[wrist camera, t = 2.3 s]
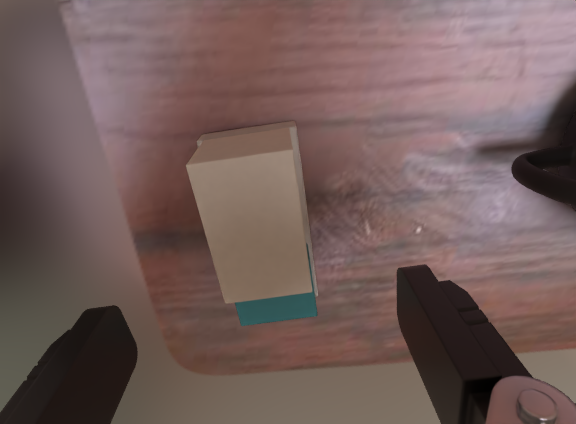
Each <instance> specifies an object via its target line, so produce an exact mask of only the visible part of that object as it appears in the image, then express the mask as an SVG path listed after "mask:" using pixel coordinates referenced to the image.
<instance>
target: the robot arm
mask: <svg viewBox="0 0 576 424" xmlns="http://www.w3.org/2000/svg"><path fill="white" fill-rule="evenodd" d="M397 316H398V321H399V325H400V329H401V332H402V334H403V337H404V339H405V341H406V343H407V346H408V348H409V350H410V353H411V355H412V357H413V360H414V362H415V364H416V367H417V369H418V371H419V373H420V376H421V378H422V380H423V383H424V385H425V387H426V390H427V392H428V394H429V397H430V399H431V401H432V404H433V406H434V408H435V411H436V413H437V415H438V418H439V420H440V422H441V424H576V404H575V403H574V402H573V401H572V400H571V399H570V398H569V397H568V396H566V395H565V394H564V393H563V392H561V391H560V390H558V389H557V388H555V387H553V386H552V385H550V384H548V383H546V382H544V381H541V380H538V379H535V378H533V377H532V376H531V374H530V373H529V372H528V371H527V370H526V368H525V367H524V366H523V364H522V363H521V362H520V360H519V359H518V358H517V356H515V354H514V352H513V351H512V350H511V349H510V347H509V346H508V345H507V343H506V342H505V341H504V339H503V338H502V337H501V335H500V334H499V333H498V332H497V330H496V329H495V328H494V326H493V325H492V324H491V322H490V323H489V322H488V318H487V317H486V316H485V315H484V313H483V312H482V311H481V310H479V308H478V305H477V304H476V303H475V301H474V300H473V299H472V298H471V296H470V295H469V294H468V292H467V291H465V290H464V289H462V288H461V287H459V286H458V285H456V284H455V283H453V282H452V281H450V280H448V281H440V282H438V280H437V279H436V277H435V276H434V274H433V273H432V271H431V270H430V268H429V267H428V266H427V265H426V264H424V265H417V266H409V267H402V268H398V270H397ZM136 362H137V346H136V342H135V340H134V338H133V336H132V334H131V332H130V329H129V327H128V325H127V323H126V321H125V319H124V317H123V315H122V312H121V310H120V309H119V307H117V306H114V305H113V306H106V307H98V308H91V309H87V310H85V311H84V312H83V313H82V315H81V316H80V318H79V319H78V320H77V322H76V323H75V325H74V326H73V327H72V329H71V330H68V331H67V332H66V333H64V334H63V335H62V336H61V337H60V338H58V339H57V340H56V341H55V342H54V343H53V344H51V346H50V347H49V348H48V349H47V351H46V352H45V353H44V355H43V356H42V358H41V359H40V360H39V361H38V365H37V366H35V367H34V368H33V369H32V371H31V372H30V374H29V375H28V376H27V380H26V381H24V382H23V383H22V384H21V386H20V387H19V388H18V390H17V391H16V392H15V394H14V395H13V396H12V398H11V399H10V400H9V402H8V403H7V404H6V406H5V407H4V408H3V410H2V411H1V412H0V424H110V423H111V421H112V418H113V416H114V414H115V412H116V409H117V407H118V404H119V402H120V400H121V398H122V396H123V393H124V391H125V389H126V386H127V384H128V382H129V380H130V377H131V375H132V372H133V370H134V368H135V365H136Z"/></svg>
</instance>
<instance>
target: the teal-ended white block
mask: <svg viewBox="0 0 576 424" xmlns="http://www.w3.org/2000/svg"><path fill="white" fill-rule="evenodd" d="M197 145H198V149H197V150H196V151H195V153H194V154H193V156H192V157H191V159H190V160H189V161H188V163H187V164H186V168H187V172H188V175H189V179H190V182H191V186H192V189H193V193H194V196H195V200H196V203H197V207H198V210H199V214H200V217H201V221H202V224H203V228H204V231H205V235H206V238H207V242H208V245H209V249H210V252H211V256H212V259H213V263H214V266H215V270H216V273H217V277H218V280H219V284H220V287H221V291H222V294H223V298H224V301H225V304H228V303H235V305H236V308H237V312H238V316H239V319H240V323H241V326H245V325H253V324H261V323H268V322H276V321H283V320H291V319H299V318H306V317H314V316H317V315H318V314H317V307H316V300H315V297H316V296H318V289H317V281H316V273H315V266H314V258H313V250H312V242H311V235H310V227H309V219H308V211H307V204H306V196H305V188H304V180H303V173H302V165H301V157H300V149H299V142H298V134H297V127H296V123H295V121H288V122H281V123H275V124H268V125H261V126H255V127H248V128H241V129H235V130H228V131H221V132H214V133H208V134H202V135H201V136H200V138H199V139H198V140H197Z"/></svg>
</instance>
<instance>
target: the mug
mask: <svg viewBox="0 0 576 424" xmlns="http://www.w3.org/2000/svg"><path fill="white" fill-rule="evenodd" d="M554 167H559V175H556V174H553V173H550V172H548V171H545V170H542V169H548V168H554ZM512 174H513V177H514V178H515V179H516V180H517V181H518V182H519V183H521V184H522V185H524V186H525V187H527V188H529V189H531V190H533V191H535V192H537V193H539V194H542V195H544V196H546V197H549V198H552V199H554V200H557V201H560V202H563V203H567V204H570V205H571V206H572V207H573V209H574V210H575V211H576V111H575V113H574V115H573V117H572V118H571V120H570V122H569V124H568V127H567V129H566V131H565V134H564V137H563V140H562V143H561V147H556V148H549V149H544V150H538V151H533V152H529V153H525V154H523V155H520V156H519V157H517V158H516V159H515V160H514V162H513V165H512Z"/></svg>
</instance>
